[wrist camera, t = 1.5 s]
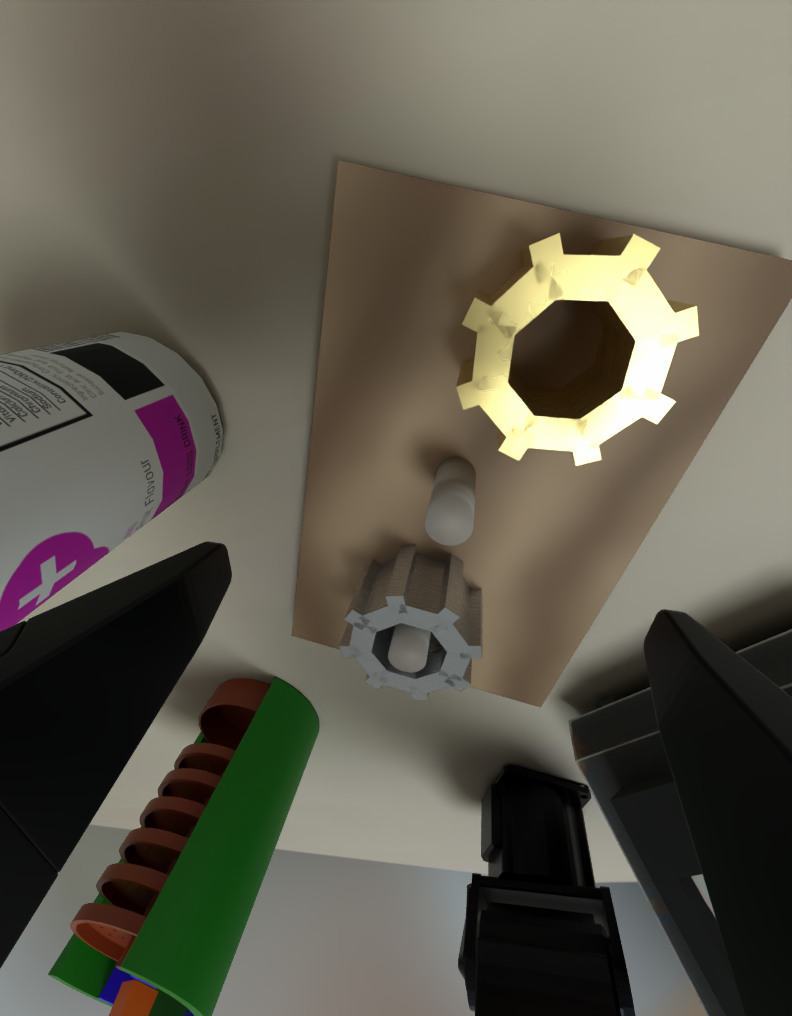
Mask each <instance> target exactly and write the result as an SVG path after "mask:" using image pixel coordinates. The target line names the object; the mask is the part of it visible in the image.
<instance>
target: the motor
mask: <svg viewBox="0 0 792 1016" xmlns="http://www.w3.org/2000/svg"><path fill="white" fill-rule="evenodd" d="M199 727H200V730H201V733H200V734H199V736H198V737H197V739H196V741H195V742H194V744H191V745H189V746H187V747H185V748H184V749H183V750H182V752H181V753H180V755H179V756H178V758H177V760H176V761H175V765H174V768H175V770H173V771H171V772H169V773H168V774H167V775H166V777H165V778H164V780H163V781H162V783H161V784H160V786H159V788H158V796H159V797H157V798H154V799H152V800H151V801H150V802H149V803H148V805H147V806H146V808H145V809H144V811H143V812H142V814H141V816H140V824H141V828H138V829H135V830H132V831H131V832H130V833H129V834H128V836H127V837H126V839H125V840H124V842H123V843H122V845H121V847H120V849H119V853H120V856H121V860H120V861H119V863H116V864H112V865H109V866H108V867H107V868H106V870H105V871H104V873H103V874H102V876H101V877H100V879H99V881H98V882H97V884H96V887H97V890H98V892H99V895H98V896H97V898H96V899H95V901H94V903H88V904H84V905H83V906H82V907H81V909H80V910H79V912H78V913H77V915H76V917H75V918H74V920H73V921H72V923H71V925H70V926H71V929H72V931H73V932H74V934H73V936H72V937H71V939H70V940H69V942H68V944H67V945H66V947H65V948H64V950H63V952H62V953H61V955H60V957H59V958H58V959H57V961H56V963H55V964H54V966H53V968H52V969H51V971H50V972H49V974H48V975H50V976H51V977H53V978H55V979H56V980H58V981H60V982H62V983H64V984H65V985H67V986H69V987H71V988H73V989H75V990H77V991H79V992H81V993H83V994H85V995H87V996H89V997H91V998H93V999H95V1000H98V1001H100V1002H102V1003H105V1004H107V1005H109V1006H112V1009H111V1012H110V1014H109V1016H212V1014H213V1011H214V1008H215V1006H216V1003H217V1000H218V997H219V995H220V992H221V990H222V987H223V984H224V981H225V979H226V976H227V974H228V971H229V968H230V966H231V963H232V961H233V958H234V955H235V953H236V950H237V947H238V945H239V942H240V939H241V937H242V934H243V931H244V929H245V926H246V923H247V921H248V918H249V915H250V913H251V910H252V908H253V905H254V902H255V900H256V897H257V894H258V892H259V889H260V886H261V883H262V881H263V878H264V876H265V873H266V870H267V868H268V865H269V862H270V860H271V857H272V855H273V851H274V849H275V847H276V844H277V841H278V839H279V836H280V833H281V831H282V828H283V825H284V823H285V820H286V817H287V815H288V812H289V809H290V807H291V804H292V802H293V799H294V796H295V794H296V791H297V788H298V786H299V783H300V780H301V778H302V775H303V772H304V770H305V767H306V764H307V762H308V759H309V756H310V754H311V751H312V749H313V746H314V743H315V741H316V738H317V735H318V732H319V721H318V717H317V715H316V712H315V710H314V709H313V707H312V706H311V704H310V703H309V702H308V701H307V699H306V698H305V697H304V696H303V695H302V694H301V693H300V692H298V691H297V690H296V689H295V688H293V687H292V686H290V685H289V684H287V683H286V682H284V681H282V680H281V679H279V678H277V677H275V679H274V680H273V682H272V684H271V686H270V685H268V684H265V683H263V682H260V681H256V680H251V679H232V680H228V681H226V682H224V683H222V684H221V685H220V686H219V687H218V688H217V690H216V691H215V693H214V694H213V696H212V697H211V699H210V700H209V702H208V703H207V705H206V707H205V708H204V710H203V711H202V713H201V714H200V717H199Z"/></svg>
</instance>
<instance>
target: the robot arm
mask: <svg viewBox="0 0 792 1016" xmlns="http://www.w3.org/2000/svg"><path fill="white" fill-rule="evenodd" d="M231 578H232V571H231V566H230V561H229V556H228V551H227V548H226V546H225V545H224V544H221V543H215V542H204V543H201V544H199V545H197V546H194V547H192V548H190V549H188V550H185V551H183V552H181V553H178V554H176V555H174V556H172V557H169V558H167V559H165V560H162V561H160V562H158V563H156V564H153V565H151V566H149V567H146V568H144V569H142V570H140V571H137V572H135V573H133V574H130V575H128V576H126V577H124V578H121V579H119V580H117V581H114V582H112V583H110V584H108V585H105V586H103V587H101V588H98V589H96V590H94V591H92V592H89V593H87V594H85V595H82V596H80V597H78V598H76V599H73V600H71V601H69V602H66V603H64V604H62V605H60V606H57V607H55V608H53V609H50V610H48V611H46V612H44V613H41V614H39V615H37V616H34V617H32V618H30V619H29V620H28V621H27V622H26V621H23V622H20V623H18V624H16V625H14V626H11V627H9V628H7V629H5V630H2V631H0V968H1V967H2V965H3V963H4V961H5V960H6V959H7V957H8V955H9V954H10V952H11V950H12V948H13V947H14V946H15V944H16V942H17V941H18V939H19V938H20V936H21V934H22V932H23V931H24V929H25V928H26V926H27V925H28V923H29V921H30V920H31V918H32V916H33V915H34V913H35V912H36V910H37V908H38V907H39V905H40V904H41V902H42V900H43V899H44V897H45V896H46V894H47V892H48V891H49V889H50V887H51V886H52V884H53V883H54V881H55V879H56V878H57V876H58V872H60V871H61V869H62V867H63V866H64V864H65V863H66V861H67V859H68V858H69V856H70V855H71V853H72V851H73V850H74V848H75V846H76V845H77V843H78V842H79V840H80V838H81V837H82V835H83V833H84V832H85V830H86V829H87V827H88V825H89V824H90V822H91V821H92V819H93V817H94V816H95V814H96V812H97V811H98V809H99V808H100V806H101V804H102V803H103V801H104V800H105V798H106V796H107V795H108V793H109V791H110V790H111V788H112V787H113V785H114V783H115V782H116V780H117V779H118V777H119V775H120V774H121V772H122V770H123V769H124V767H125V766H126V764H127V762H128V761H129V759H130V758H131V756H132V754H133V753H134V751H135V749H136V748H137V746H138V745H139V743H140V741H141V740H142V738H143V737H144V735H145V733H146V732H147V730H148V728H149V727H150V725H151V724H152V722H153V720H154V719H155V717H156V716H157V714H158V712H159V711H160V709H161V707H162V706H163V704H164V703H165V701H166V699H167V698H168V696H169V695H170V693H171V691H172V690H173V688H174V686H175V685H176V683H177V682H178V680H179V678H180V677H181V675H182V673H183V672H184V670H185V669H186V667H187V665H188V664H189V662H190V661H191V659H192V657H193V656H194V654H195V652H196V651H197V649H198V647H199V646H200V644H201V642H202V640H203V638H204V636H205V635H206V633H207V631H208V628H209V626H210V624H211V622H212V620H213V618H214V616H215V614H216V612H217V610H218V608H219V606H220V603H221V601H222V599H223V597H224V595H225V593H226V591H227V589H228V587H229V585H230V582H231ZM644 653H645V659H646V664H647V670H648V675H649V681H650V686H651V692H652V697H653V703H654V708H655V714H656V718H657V723H658V727H659V731H660V735H661V738H662V742H663V745H664V748H665V752H666V755H667V758H668V762H669V765H670V768H671V772H672V775H673V778H674V781H675V785H676V788H677V791H678V795H679V798H680V801H681V805H682V808H683V811H684V815H685V818H686V821H687V825H688V828H689V831H690V835H691V838H692V841H693V845H694V848H695V851H696V855H697V858H698V861H699V865H700V868H701V871H702V874H703V878H704V881H705V884H706V888H707V891H708V894H709V898H710V901H711V904H712V908H713V911H714V914H715V918H716V921H717V924H718V928H719V931H720V934H721V938H722V941H723V944H724V948H725V951H726V954H727V958H728V961H729V964H730V967H731V971H732V974H733V977H734V981H735V984H736V987H737V991H738V994H739V997H740V1001H741V1004H742V1007H743V1011H744V1014H745V1016H792V697H791V696H790V695H788V694H787V693H786V692H785V691H783V690H782V689H781V688H780V687H778V686H777V685H776V684H775V683H773V682H772V681H771V680H770V679H768V678H767V677H766V676H764V675H763V674H762V673H761V672H759V671H758V670H757V669H756V668H754V667H753V666H752V665H751V664H749V663H748V662H747V661H746V660H744V659H743V658H742V657H741V656H739V655H738V654H737V653H735V652H734V651H733V650H732V649H730V648H729V647H728V646H727V645H725V644H724V643H723V642H722V641H720V640H719V639H718V638H717V637H715V636H714V635H713V634H712V633H710V632H709V631H708V630H706V629H705V628H704V627H703V626H701V625H700V624H699V623H698V622H696V621H695V620H694V619H693V618H691V617H690V616H689V615H687V614H686V613H684V612H679V611H673V610H666V609H664V610H660V611H659V612H658V613H657V615H656V617H655V619H654V621H653V623H652V625H651V627H650V629H649V631H648V633H647V635H646V638H645V641H644ZM590 799H591V793H590V790H589V789H588V788H585V787H582V786H579V785H575V784H572V783H568V782H565V781H562V780H558V779H555V778H552V777H548V776H545V775H542V774H538V773H535V772H531V771H528V770H525V769H521V768H518V767H515V766H511V765H507V766H504V767H503V769H502V771H501V772H500V774H499V776H498V777H497V779H496V780H495V782H494V783H493V784H491V785H490V787H489V788H488V790H487V792H486V793H485V795H484V797H483V798H482V819H481V857H482V859H483V861H486V862H488V876H481V874H477V873H473V874H472V883H471V884H469V885H467V907H466V919H465V925H464V930H463V936H462V942H461V947H460V953H459V958H458V968H459V971H460V973H461V974H462V976H463V977H464V979H465V984H466V990H467V996H468V1003H469V1007H470V1010H471V1011H475V1016H635V1012H634V1005H633V999H632V994H631V989H630V983H629V978H628V973H627V968H626V963H625V959H624V954H623V949H622V945H621V940H620V935H619V931H618V926H617V921H616V917H615V912H614V908H613V903H612V899H611V894H610V889H609V887H603V886H600V888H596V886H595V880H594V875H593V869H592V863H591V857H590V851H589V846H588V840H587V834H586V828H585V823H584V817H583V811H582V808H583V807H584V806H585V805H586V804H587V802H588V801H589V800H590Z"/></svg>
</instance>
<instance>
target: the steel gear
mask: <svg viewBox="0 0 792 1016" xmlns="http://www.w3.org/2000/svg"><path fill="white" fill-rule="evenodd" d="M463 571H464V562H463V561H461V560H460V559H459V558H457V557H456V556H454V555H453V554H451V555H450V556H449V557H448V558H447V559H446V560H443V559H439V558H435V557H432V556H428V555H424V554H420V553H418V550H417V545H416V544H412V545H401V547H400V551H399V554H398V556H397V557H395V558H392V559H390V560H388V561H385V562H383V563H379V562H378V561H376V560H375V559H373V558H372V559H371V561H370V562H369V563H368V564H367V565H366V567H365V568H364V571H363V573H362V576H361V578H360V581H359V583H358V586H357V588H356V591H355V593H354V596H353V598H352V601H351V603H350V606H349V608H348V611H347V613H346V616H345V618H344V620H346V621H348V624H347V627H346V629H345V632H344V635H343V637H342V640H341V642H340V645H339V647H340V650H341V653H342V656H343V658H354V659H355V660H356V662H357V663H358V664H359V665H360V666H361V667H362V668H363V670H364V671H365V672H366V673H367V675H366V679H365V683H367V684H369V685H370V686H372V687H374V688H375V689H377V690H378V689H379V688H380V687H381V686H382V685H385V686H389V687H392V688H396V689H399V690H402V691H406V692H409V693H411V695H412V699H413V700H428V698H429V693H430V692H433V691H437V690H440V689H444V688H448V687H451V686H452V687H454V688H455V689H457V690H458V691H460V692H461V691H462V690H464V689H465V688H466V687H468V686H469V685H470V684H471V670H472V659H482V655H483V595H482V588H472V589H471V587H470V586H469V584H468V583H467V581H466V580H465V578H464V577H463ZM400 623H403V624H406V625H410V626H414V627H417V628H421V629H424V630H428V631H431V635H430V641H429V648H428V655H427V661H426V665H425V667H424V668H423V669H422V670H420V671H417V672H404V671H401V670H399V669H397V668H395V667H394V666H393V665H392V664H391V663H390V661H389V659H388V653H389V649H390V645H391V641H392V637H393V633H394V629H395V625H397V624H400Z"/></svg>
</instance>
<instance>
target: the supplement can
mask: <svg viewBox="0 0 792 1016" xmlns="http://www.w3.org/2000/svg"><path fill="white" fill-rule="evenodd" d="M222 439H223V430H222V426H221V421H220V417H219V413H218V409H217V405H216V403H215V401H214V400H213V398H212V396H211V394H210V392H209V391H208V389H207V387H206V385H205V384H204V382H203V380H202V378H201V377H200V376H199V375H198V374H197V373H196V372H195V371H194V370H193V369H192V368H191V367H190V366H189V365H188V364H187V363H186V362H185V361H184V359H183V358H182V357H181V356H180V355H179V354H178V353H176V352H174V351H173V350H171V349H169V348H167V347H166V346H164V345H162V344H160V343H159V342H157V341H155V340H154V339H152V338H150V337H146V336H141V335H136V334H131V333H126V332H116V333H111V334H106V335H100V336H95V337H90V338H85V339H80V340H74V341H69V342H64V343H59V344H53V345H48V346H43V347H38V348H32V349H27V350H22V351H17V352H12V353H6V354H1V355H0V631H2V630H5V629H7V628H9V627H11V626H14V625H15V624H17V623H18V622H19V621H20V620H22V619H23V618H24V617H26V616H27V615H28V614H30V613H31V612H32V611H33V610H35V609H36V608H37V607H39V606H40V605H41V604H43V603H44V602H45V601H46V600H48V599H49V598H50V597H52V596H53V595H54V594H56V593H57V592H58V591H59V590H61V589H62V588H63V587H65V586H66V585H67V584H69V583H70V582H71V581H72V580H74V579H75V578H76V577H78V576H79V575H80V574H82V573H83V572H84V571H85V570H87V569H88V568H89V567H91V566H92V565H93V564H95V563H96V562H97V561H98V560H100V559H101V558H102V557H104V556H105V555H106V554H108V553H109V552H110V551H111V550H113V549H114V548H115V547H117V546H118V545H119V544H121V543H122V542H123V541H125V540H126V539H127V538H128V537H130V536H131V535H132V534H134V533H135V532H136V531H138V530H139V529H140V528H141V527H143V526H144V525H145V524H147V523H148V522H149V521H151V520H152V519H153V518H154V517H156V516H157V515H158V514H160V513H161V512H162V511H164V510H165V509H166V508H167V507H169V506H170V505H171V504H173V503H174V502H175V501H177V500H178V499H179V498H180V497H182V496H183V495H184V494H186V493H187V492H188V491H190V490H191V489H192V488H193V487H195V486H196V485H197V484H199V483H200V482H201V481H203V480H204V479H205V478H206V477H208V476H209V475H210V473H211V472H212V470H213V469H214V467H215V465H216V464H217V462H218V460H219V459H220V456H221V448H222Z"/></svg>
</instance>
